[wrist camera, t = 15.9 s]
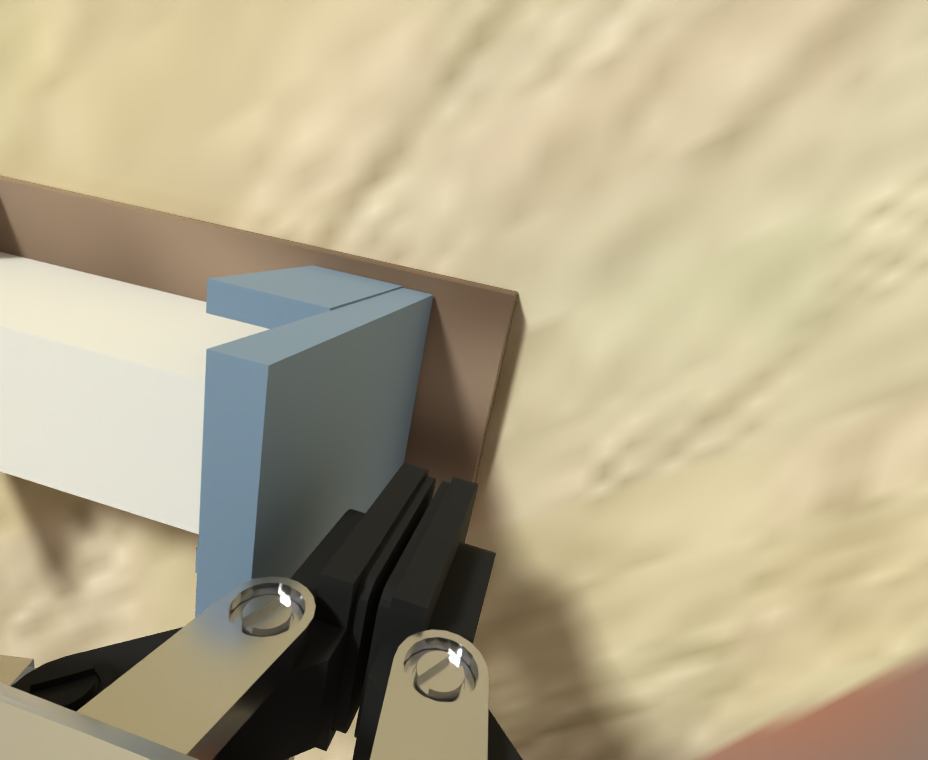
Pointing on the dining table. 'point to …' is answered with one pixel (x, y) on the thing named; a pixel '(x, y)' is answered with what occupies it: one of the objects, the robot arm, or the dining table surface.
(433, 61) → the dining table surface
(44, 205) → the endcap rack
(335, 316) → the sliding end cap
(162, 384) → the slat
